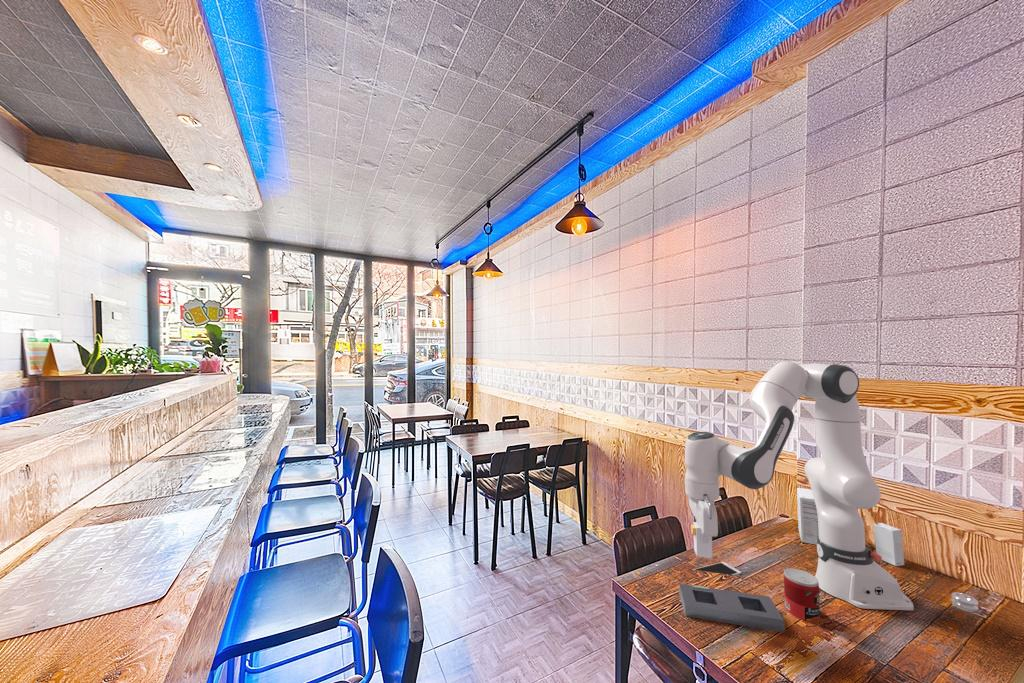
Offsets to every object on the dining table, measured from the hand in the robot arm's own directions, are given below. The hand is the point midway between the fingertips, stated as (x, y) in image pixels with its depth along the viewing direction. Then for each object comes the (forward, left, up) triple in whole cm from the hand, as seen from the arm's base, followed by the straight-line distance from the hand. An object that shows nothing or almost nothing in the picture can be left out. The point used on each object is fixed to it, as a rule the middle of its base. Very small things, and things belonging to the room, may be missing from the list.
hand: (702, 537), depth 108 cm
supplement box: (-54, -57, -21) cm, 81 cm away
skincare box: (-69, -45, -21) cm, 85 cm away
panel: (-6, 0, -21) cm, 22 cm away
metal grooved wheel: (-73, -21, -21) cm, 79 cm away
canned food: (-26, -5, -21) cm, 34 cm away
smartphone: (-8, -22, -21) cm, 32 cm away
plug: (0, 0, -5) cm, 5 cm away
